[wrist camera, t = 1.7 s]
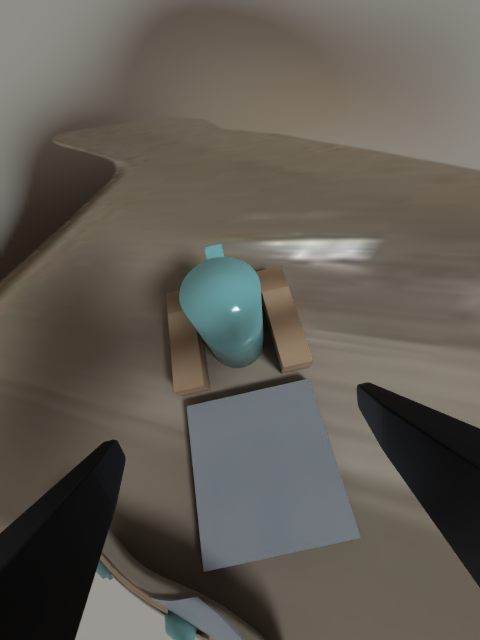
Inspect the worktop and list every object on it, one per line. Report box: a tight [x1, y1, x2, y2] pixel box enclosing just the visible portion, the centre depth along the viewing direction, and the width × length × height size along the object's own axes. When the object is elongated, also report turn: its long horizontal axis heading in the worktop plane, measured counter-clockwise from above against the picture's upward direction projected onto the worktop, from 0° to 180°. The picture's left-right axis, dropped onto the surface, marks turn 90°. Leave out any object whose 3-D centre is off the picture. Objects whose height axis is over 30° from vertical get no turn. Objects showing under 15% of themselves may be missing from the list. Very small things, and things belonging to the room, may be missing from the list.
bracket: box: [166, 266, 314, 396], centre depth 24 cm, size 10×12×2 cm
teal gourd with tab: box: [179, 244, 264, 368], centre depth 21 cm, size 8×5×10 cm, turn 11°
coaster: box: [187, 379, 361, 572], centre depth 19 cm, size 11×11×1 cm
